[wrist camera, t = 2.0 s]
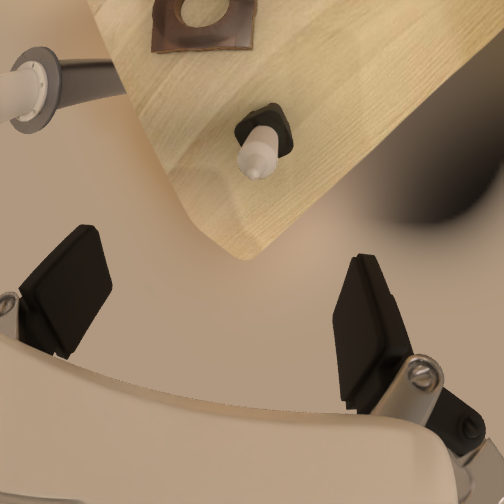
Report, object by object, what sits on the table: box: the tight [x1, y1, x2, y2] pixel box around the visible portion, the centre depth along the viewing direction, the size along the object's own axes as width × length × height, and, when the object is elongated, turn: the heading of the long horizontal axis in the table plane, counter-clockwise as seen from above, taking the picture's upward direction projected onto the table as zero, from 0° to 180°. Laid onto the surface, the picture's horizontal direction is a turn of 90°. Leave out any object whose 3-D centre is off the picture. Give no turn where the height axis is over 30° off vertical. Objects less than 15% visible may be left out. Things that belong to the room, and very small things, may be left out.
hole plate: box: [151, 0, 257, 53], centre depth 27 cm, size 14×14×2 cm
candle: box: [234, 103, 293, 180], centre depth 27 cm, size 5×5×25 cm
